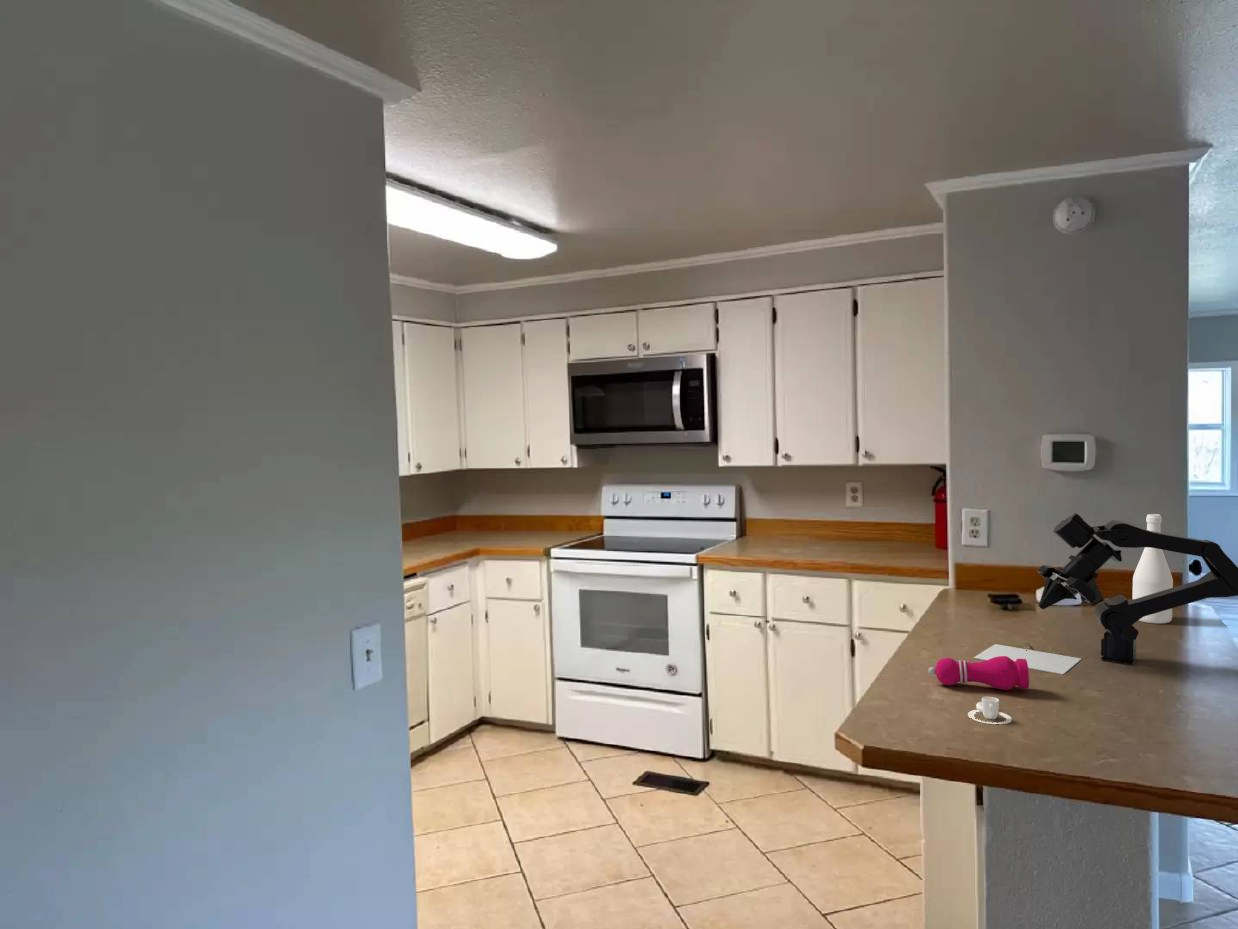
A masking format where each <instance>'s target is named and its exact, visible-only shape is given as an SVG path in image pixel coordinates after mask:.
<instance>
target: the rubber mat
mask: <svg viewBox="0 0 1238 929" xmlns="http://www.w3.org/2000/svg"><path fill="white" fill-rule="evenodd" d="M1026 650H1027V651H1026ZM998 656H1007V657H1009V658H1010V659H1012V660H1013V661H1016V659H1026V661H1027V664H1028V670H1029V669H1031V670H1035V671H1042V672H1047V673H1052V674H1058V675H1065V674H1066V673H1067V672H1069V671H1070V670H1071V669H1072V668H1073V667H1074V666H1075V665H1076V664H1078V663H1079V662H1080V661H1082V658H1080V657H1074V656H1068V655H1061V654H1057V653H1051V652H1044V651H1039V650H1034V649H1026V648H1020V647H1014V646H1010V645H1009V646H1008V645H1002V644H997V643H995V644H993V645H991V646H990V647H988V648H986V649H985V650H983V651H982V652H980V653H979V654H977V655H976V656H975V655H974V657H973V659H975V660H982V661H986V660H989V659H991V658H994V657H998Z"/></svg>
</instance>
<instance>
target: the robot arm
mask: <svg viewBox="0 0 1238 929" xmlns="http://www.w3.org/2000/svg"><path fill="white" fill-rule="evenodd" d="M1052 532H1053V533H1054V534H1055V535H1057V537H1059V538H1060V539H1061V540H1062V541H1063V542H1065V544H1067V545H1068V546H1069V547H1070V548H1071V549H1075V548H1078V549H1081V550H1079V552H1077V554H1076V555H1070V556H1069V557H1068V560H1070V561H1068V562H1067V564H1065V565H1064V566H1063V567H1060V566H1058V567H1057V568H1055V567H1052V566H1050V565H1047V564H1046V565H1041V566H1040V567H1039V568H1038V569H1037V570H1036V571H1037V573H1038V574H1040V576H1042V577H1043V578H1044V579H1045V583H1044V586H1043V590H1042V593H1041V597H1040V600H1039V603H1038V607H1039V608H1040V609H1041V610H1045V609H1047V608H1048V607H1051V606H1054V605H1055V604H1057V603H1059V602H1061V601H1063V600H1077V599H1078V598H1077V595H1078V594H1079V595H1080V600H1081V601H1082V602H1083V603H1084V604H1085V605H1089V606H1090V607H1093V606H1096V607H1095V610H1094V616H1095V618H1096V620H1097V621H1098V623H1100V624H1101V625H1102V627H1103V628H1104V630H1105V632H1104V633H1103V637H1102V638H1101V639H1100V656H1101V659H1100V660H1101V661H1106V662H1112V663H1118V664H1123V665H1130V666H1132V665H1134V664H1135V663H1136V662H1137V661H1138V659H1139V657H1138V656H1137V638H1138V635H1139V634H1140V630H1138V629H1137V628H1136V627H1135V626H1133V625H1135V623H1137V622H1139V621H1138V620H1140V619H1141V618H1143V617H1145V616H1148V615H1151V614H1155V613H1158V612H1161V611H1165V610H1168V609H1172V610H1173V609H1174V608H1178V607H1182V606H1185V605H1188V604H1192V603H1195V602H1199V601H1201V600H1206V599H1210V598H1230V597H1238V565H1237V564H1235V563H1234V562H1233V560H1231V558H1230V557H1228V555H1227V554H1226V552H1224V551H1223V550H1222V547H1221V546H1220V544H1218V543H1217V542H1214V541H1212V540H1209V539H1198V538H1192V537H1187V536H1181V535H1176V534H1170V533H1164V532H1161V533H1159V532H1154V531H1149V530H1147V528H1146V529H1145V528H1143V527H1140V526H1138V525H1134V524H1132V523H1128V522H1126V521H1122V520H1120V519H1119V520H1118V519H1113V520H1110V521H1108V522H1107V523H1106V524H1105V525H1097V526H1091V525H1090V524H1088V522H1086V521H1085V520H1084V519H1083V517H1082V516H1081V515H1080V514H1078V513H1077V512H1074V513H1073V514H1072V515H1070V516H1068V517H1067V518H1065V519H1063V520H1061V521H1060V522H1058V524H1057V525H1056V526H1055V527H1054V528H1053V531H1052ZM1096 537H1097V538H1096ZM1098 539H1101V540H1102V541H1103V542H1101V541H1100V540H1098ZM1108 542H1109V543H1111V544H1112V545H1114V546H1115V547H1118V548H1132V549H1133V548H1136V549H1137V548H1138V549H1139V548H1145V547H1151V548H1156V549H1162V550H1163V551H1168V552H1174V553H1180V554H1183V555H1184V554H1185V555H1190V556H1196V557H1200V558H1202V560H1203V561H1204V563H1205V565H1206V567H1207V568H1208V569H1209V571H1208V572H1206V573H1205V574H1204V575H1203V576H1201V577H1200V578H1198V579H1197V580H1194V581H1191V582H1187V583H1183V584H1181V585H1177V586H1173V588H1170V589H1167V590H1164V591H1160V592H1157V593H1154V594H1150V595H1147V596H1144V597H1140V598H1137V599H1127V598H1126V597H1125V596H1123V595H1122V594H1117V595H1115V596H1113V597H1111V598H1104V596H1103V594H1102V592H1101V590H1100V588H1099V586H1098V585H1097V583H1096V580H1097V579H1098V577H1099V574H1098V573H1097V572H1098V571H1099V570H1100V569H1101V568H1102V567H1103V566H1104V565H1105V564H1106V563H1107V562H1109V560H1110V559H1112V561H1114V562H1122V561H1123V558H1122V550H1120V549H1114V548H1113V547H1112V546H1111V545H1110V544H1108Z"/></svg>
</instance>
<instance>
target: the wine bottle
mask: <svg viewBox="0 0 1238 929" xmlns="http://www.w3.org/2000/svg"><path fill="white" fill-rule="evenodd" d="M1162 518H1163V517H1162V516H1161V514H1158V513H1148V514H1146V518H1145V522H1146V530H1149V531H1154V532H1159V533H1162V532H1161V531H1162V530H1161V527H1162V526H1161V524H1162ZM1143 548H1144V549H1143V551H1142V554H1141V556H1140V559H1139V561H1138V563H1137V566H1136V569H1135V570H1134V573H1133V576H1132V596H1131V597H1132V599H1137V598H1140V597H1144V596H1147V595H1150V594H1154V593H1157V592H1160V591H1164V590H1167V589H1170V588H1174V580H1173V576H1172V573H1171V572H1172V571H1171V570H1170V567H1169V564H1168V561H1167V559H1166V556H1165V554H1164V550H1162V549H1156V548H1151V547H1143ZM1132 599H1131V600H1132ZM1172 620H1173V608H1172V609H1168V610H1165V611H1161V612H1158V613H1155V614H1151V615H1148V616H1145V617H1143V618H1141V619H1140V620H1138V621H1137V622H1142V623H1147V624H1148V623H1149V624H1168V623H1171V622H1172Z"/></svg>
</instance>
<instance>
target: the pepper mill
mask: <svg viewBox="0 0 1238 929" xmlns="http://www.w3.org/2000/svg"><path fill="white" fill-rule="evenodd" d="M927 672H928V673H929V675H931V676H936V678H937V680H938V682H940V684H942V685H944V686H954V685H955V684H957V683H960V684H961V685H962V684H967V683H981V684H985V685H988V686H989V687H992V688H995V689H998V690H1002V691H1010V690H1012V689H1014V687H1018V689H1026V690H1028V689H1029V688H1030V687H1029V686H1030V672H1029V668H1028V664H1027V661H1026V659H1016V661H1013V660H1012V659H1010V658H1009V657H1007V656H998V657H994V658H991V659H989V660H982V661H978V662H967V661H966V660H965V659H964V660H961V659H959V660H958V661H956V660H955V659H954V658H952V657H943V658H941V659H939V660H938V661H937V663H936V665H935V667H933V666H930V667H929V668H928V669H927Z"/></svg>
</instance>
